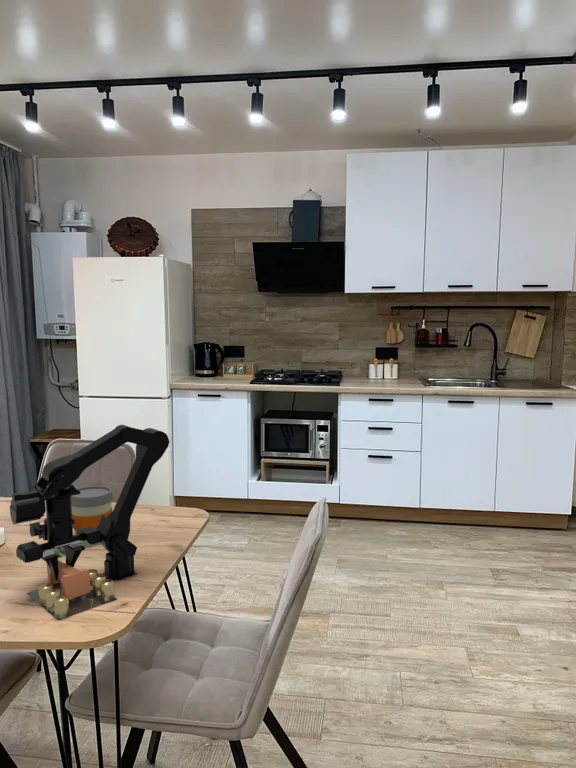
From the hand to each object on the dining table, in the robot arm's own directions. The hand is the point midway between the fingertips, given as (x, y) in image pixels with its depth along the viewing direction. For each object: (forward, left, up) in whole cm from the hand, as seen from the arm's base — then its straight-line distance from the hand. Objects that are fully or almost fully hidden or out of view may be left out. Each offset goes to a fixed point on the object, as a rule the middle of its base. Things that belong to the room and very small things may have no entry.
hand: (62, 577), depth 141 cm
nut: (0, +5, -3) cm, 6 cm away
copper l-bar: (0, +2, -2) cm, 3 cm away
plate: (0, +5, -4) cm, 6 cm away
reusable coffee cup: (-20, -27, -4) cm, 34 cm away
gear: (-9, -24, -4) cm, 26 cm away
